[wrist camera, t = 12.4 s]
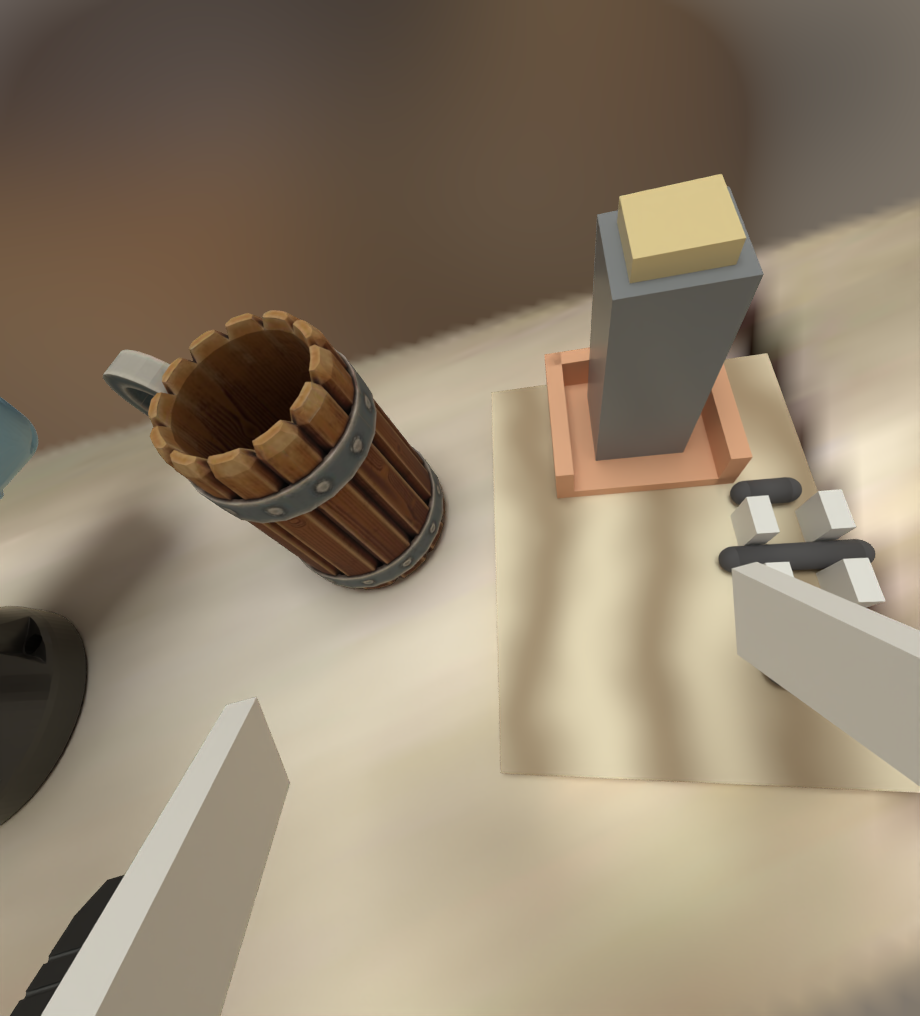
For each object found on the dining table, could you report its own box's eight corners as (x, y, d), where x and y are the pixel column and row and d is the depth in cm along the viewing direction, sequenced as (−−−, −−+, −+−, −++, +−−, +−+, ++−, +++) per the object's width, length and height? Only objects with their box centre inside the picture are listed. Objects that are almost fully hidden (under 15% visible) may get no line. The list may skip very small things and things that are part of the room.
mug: (470, 473, 31) (394, 297, 17) (412, 615, 28) (264, 532, 14) (299, 432, 36) (141, 274, 23) (234, 547, 33) (5, 441, 20)
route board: (503, 769, 23) (500, 773, 22) (494, 402, 33) (491, 392, 32) (908, 787, 19) (928, 792, 18) (760, 366, 29) (767, 353, 28)
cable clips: (756, 614, 22) (777, 604, 20) (730, 515, 24) (746, 496, 22) (852, 612, 21) (885, 601, 19) (815, 509, 23) (841, 489, 21)
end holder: (557, 498, 27) (555, 476, 24) (546, 384, 31) (544, 354, 28) (733, 483, 25) (752, 457, 22) (699, 363, 29) (712, 328, 26)
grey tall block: (595, 460, 27) (615, 276, 15) (587, 395, 29) (598, 189, 17) (683, 452, 26) (775, 247, 14) (668, 385, 28) (738, 158, 16)
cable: (744, 687, 21) (756, 686, 20) (697, 491, 25) (704, 480, 24) (945, 688, 19) (971, 687, 18) (858, 477, 24) (874, 464, 22)
